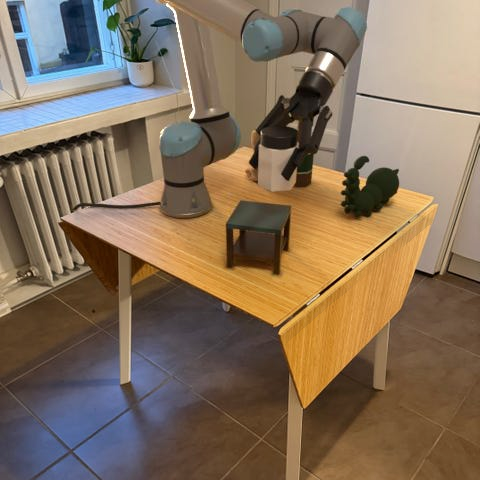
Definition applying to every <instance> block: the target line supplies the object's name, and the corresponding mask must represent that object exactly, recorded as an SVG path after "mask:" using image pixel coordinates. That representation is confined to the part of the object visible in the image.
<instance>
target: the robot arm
mask: <svg viewBox="0 0 480 480" xmlns="http://www.w3.org/2000/svg"><path fill="white" fill-rule="evenodd" d="M154 1H155V2H157V3H158V4H162V5H166V6H167V8H169V9H170V10H171V11H172V12H173V13H174V18H175V23H176V29H177V32H178V34H177V35H178V39H179V43H180V48H181V54H182V59H183V64H184V69H185V73H186V78H187V84H188V88H189V93H190V100H191V104H192V108H193V109H192V112H191V113H190V115H189V121H181V122H174V123H171V124H169V125H167V126H165V127H164V128H163V129H162V130H161V131H160V133H159V151H160V152H159V153H160V158H161V165H162V176H163V189H162V193H161V199H160V201H155V202H147V203H146V202H145V203H138V204H109V203H91V202H80V203H78V204H76V205H74V207H73V208H72V211H77V210H78V209H80V208H81V207H91V208H105V209H106V208H107V209H137V208H138V209H139V208H147V207H155V206H160V210H161V212H162V213H163V214H164V215H165V216H168V217H171V218H175V219H194V218H198V217H200V216H204V215H205V214H207V213H208V212H210V211H211V209H212V205H213V204H212V198H211V195H210V193H209V191H208V188H207V185H206V182H205V170H204V169H205V168H206V167H208V166H210V165H212V164H215V163H218V162H220V161H223V160H226V159H227V158H229V157H230V156H232V155H234V154H235V153H236V152H237V150H238V149H239V147H240V144H241V139H242V138H241V137H242V136H241V135H242V134H241V133H242V132H241V129H240V125H239V123H238V122H237V121H236V119H235V118H234V116H231V115H230V110H229V108H228V107H226V106H225V105H224V103H223V99H222V91H221V86H220V81H219V80H220V79H219V73H218V69H217V62H216V56H215V55H216V54H215V50H214V49H215V48H214V43H213V38H212V32H211V28H212V29H213V30H215V31H217V32H218V33H220V34H222V35H223V36H225V37H227V38H229V39H230V40H232V41H234V42H235V43H238V44H240V45H241V46H242V49H243V52H244V53H245V54H246V57H247V58H248V59H250V60H251V61H253V62H255V63H256V62H257V63H260V62H270V61H273V60H275V59H279V58H282V57H287V56H290V55H294V54H297V53H307V54H310V55H313V57H312V58H311V59H310V61H309V63H308V65H307V66H306V68H305V72H304V73H302V76H301V78H300V79H299V81H298V83H297V85H296V87H295V92H294V94H292V96H290V97H285V95H284V94H280V95H279V97H278V99H277V101H276V103H275V105H274V106H273V108H272V109H271V110H270V111H269V113H268V114H267V115H266V116H265V117H264V119H263V120H262V121H261V122H260V124H259V125H258V127H257V128H256V129H255V130H256V132H257V133H258V135H259V136H260V139H259V141H258V142H257V144H256V146H255V148H254V150H255V152H253V154H252V155H251V157H250V159H249V160H248V164H249V165H250V166H251V167H253V168H254V169H257V168H258V161H259V145H260V144H261V130H262V129H264V128H266V127H270V126H287V127H288V125H289V124H292V123H294V122H295V121H297V122H298V121H302V122H303V123H302V133H301V142H300V146H299V147H300V149H299V148H295V150H294V152H293V153H292V155H291V157H290V159H289V161H288V162H287V164H286V166H285V168H284V169H283V171H282V173H281V175H282V176H283V177H284V178H285V180H287V181H289V180H290V178H291V176H292V174H293V173H294V171H295V169H296V167H299V166H300V165H301V164H302V162H303V160H304V158H305V157H306V155H308V154H309V153H313V154H314V155H316V154H318V152H319V149H320V147H321V146H320V145H321V143H322V140H323V137H324V133H325V131H326V128H327V125H328V122H329V121H330V119H331V118H332V117H333V112H332V110H331V108H330V106H329V105H326V104H327V103H328V101H329V100H330V97H331V96H332V94H333V91H334V89H335V88H336V87H337V84H338V83H339V81H340V79H341V77H342V76H343V74H344V73H345V70H346V68H347V66H348V65H349V63H350V61H351V60H352V58H353V56H354V55H355V53H356V51H357V49H358V48H359V47H360V46H361V42H362V40H363V38H364V36H365V34H366V32H367V29H368V23H367V20H366V18H365V16H364V15H363V14H362V12H361V11H359V10H357V9H356V8H355V7H350V6H345V7H342V8H340V9H339V10H338V11H337V13H336V14H334V17H330V16H323V15H319V14H315V13H311V12H306V11H303V10H302V9H292V8H290V9H289V8H287V9H285V10H283V11H282V13H281V14H280V15H279V16H274V15H271V14H269V13H267V12H265V11H263V10H261V9H260V8H258V7H256V6H254V5H253V4H251V3H249V2H247V1H245V0H154ZM315 117H317V119H316V122H315V125H314V121H315ZM312 130H313V131H312ZM91 311H92V312H91V313H93V314H95V313H96V310H95V309H91Z"/></svg>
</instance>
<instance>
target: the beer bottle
mask: <svg viewBox="0 0 480 480" xmlns="http://www.w3.org/2000/svg"><path fill="white" fill-rule="evenodd" d="M302 123H303V122H302V121H297V127H296V130H297V131H298V143H299V146H300V142H301V133H302ZM299 146H298V148H299V149H300V147H299ZM314 155H315V154H313V153H309V154H308V155H306V157H305V158H304V160H303V162H302V164H301V165H300V166H299V167H297V173H296V183H295V184H294V186H293V187H296V188H303V187H308V186H309V185H310V184H311V183H312V178H313V167H314Z"/></svg>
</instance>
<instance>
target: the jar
mask: <svg viewBox="0 0 480 480" xmlns="http://www.w3.org/2000/svg"><path fill="white" fill-rule="evenodd" d="M298 146H299V143H298V131H297V128H294V127H291V126H288V125H287V126H270V127H266V128H264V129H262V130H261V144H260V145H259V161H258V180H257V186H258V187H260V188H262V189H264V190H267V191H269V192H270V193H273V192H275V193H276V192H286V191H287V192H289V191H292V190H293V188H294V187H295V186H294V184H295V183H296V173H297V167H296V169H295V171H294V173H293V174H292V176H291V178H290V180H289V181H287V180H285V178H284V177H283V176H282V175H281V173H282V171H283V169H284V168H285V166H286V164H287V162H288V161H289V159H290V157H291V155H292V153H293V152H294V150H295V148H298Z"/></svg>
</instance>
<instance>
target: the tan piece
mask: <svg viewBox="0 0 480 480" xmlns="http://www.w3.org/2000/svg"><path fill="white" fill-rule="evenodd" d="M259 139H260V136H259V135H258V133H257V132H256V129H253V130H252V132H251V138H250V143H251V148H252V151H253V153H254V152H255V150H254V148H255V146H256V144H257V142H258V141H259ZM244 172H245V174H246V176H247V177H248V178H249V179H250V180H251V181H256V182H258V168H257V169H254V168H253V167H252V166H251V167H248V168H247V169H244Z"/></svg>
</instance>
